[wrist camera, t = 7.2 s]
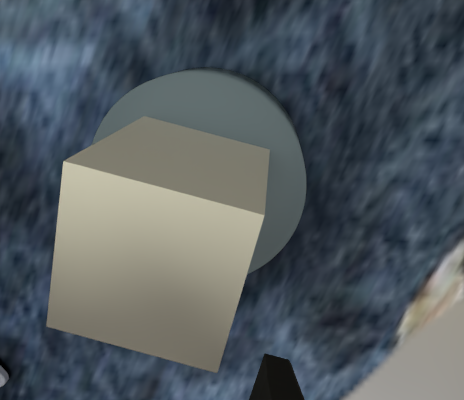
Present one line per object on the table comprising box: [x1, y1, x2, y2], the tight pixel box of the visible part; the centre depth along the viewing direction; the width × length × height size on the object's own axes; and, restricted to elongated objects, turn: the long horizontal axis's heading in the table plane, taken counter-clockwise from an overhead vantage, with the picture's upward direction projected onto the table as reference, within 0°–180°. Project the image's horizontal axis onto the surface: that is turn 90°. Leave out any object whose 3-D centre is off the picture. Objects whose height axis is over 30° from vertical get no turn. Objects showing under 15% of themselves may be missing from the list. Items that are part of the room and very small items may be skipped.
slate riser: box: [92, 67, 306, 274], centre depth 17 cm, size 8×8×4 cm
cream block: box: [46, 116, 270, 373], centre depth 13 cm, size 4×4×6 cm
